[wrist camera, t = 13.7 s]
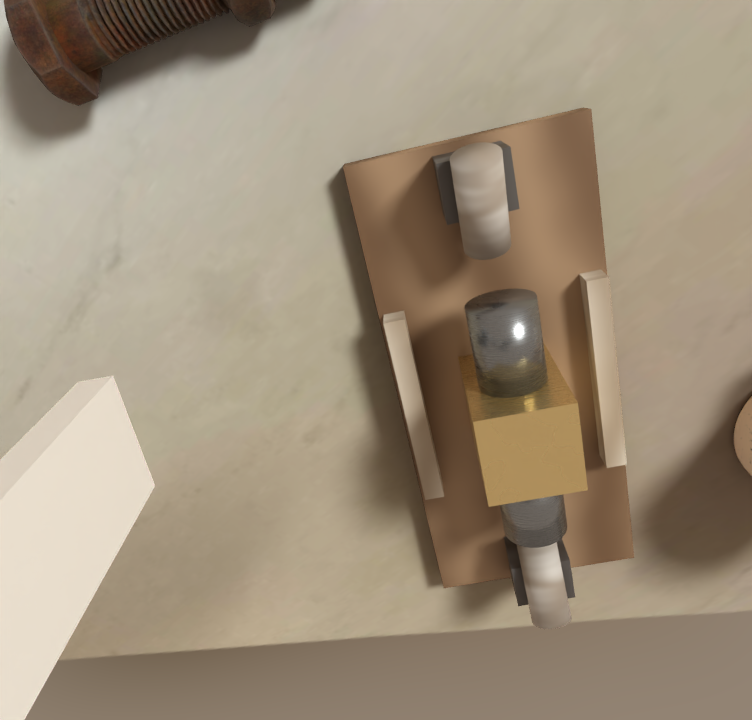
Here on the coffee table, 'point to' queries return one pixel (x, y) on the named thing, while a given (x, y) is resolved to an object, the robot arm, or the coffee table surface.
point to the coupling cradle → (451, 336)
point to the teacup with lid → (744, 436)
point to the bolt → (105, 34)
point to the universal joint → (521, 417)
